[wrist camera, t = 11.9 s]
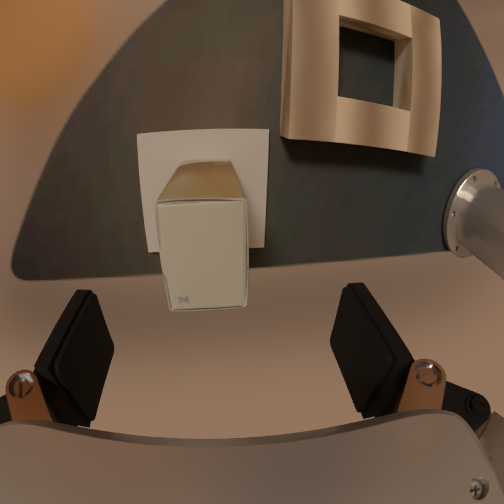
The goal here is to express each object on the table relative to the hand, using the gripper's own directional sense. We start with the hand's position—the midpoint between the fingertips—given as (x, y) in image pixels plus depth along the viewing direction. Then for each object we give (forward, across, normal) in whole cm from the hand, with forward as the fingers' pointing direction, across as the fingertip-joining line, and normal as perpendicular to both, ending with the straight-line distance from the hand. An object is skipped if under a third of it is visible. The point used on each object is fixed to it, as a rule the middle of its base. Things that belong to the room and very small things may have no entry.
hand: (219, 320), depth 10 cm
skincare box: (+16, +1, 0) cm, 16 cm away
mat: (+17, +1, 0) cm, 17 cm away
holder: (+17, -13, -13) cm, 25 cm away
